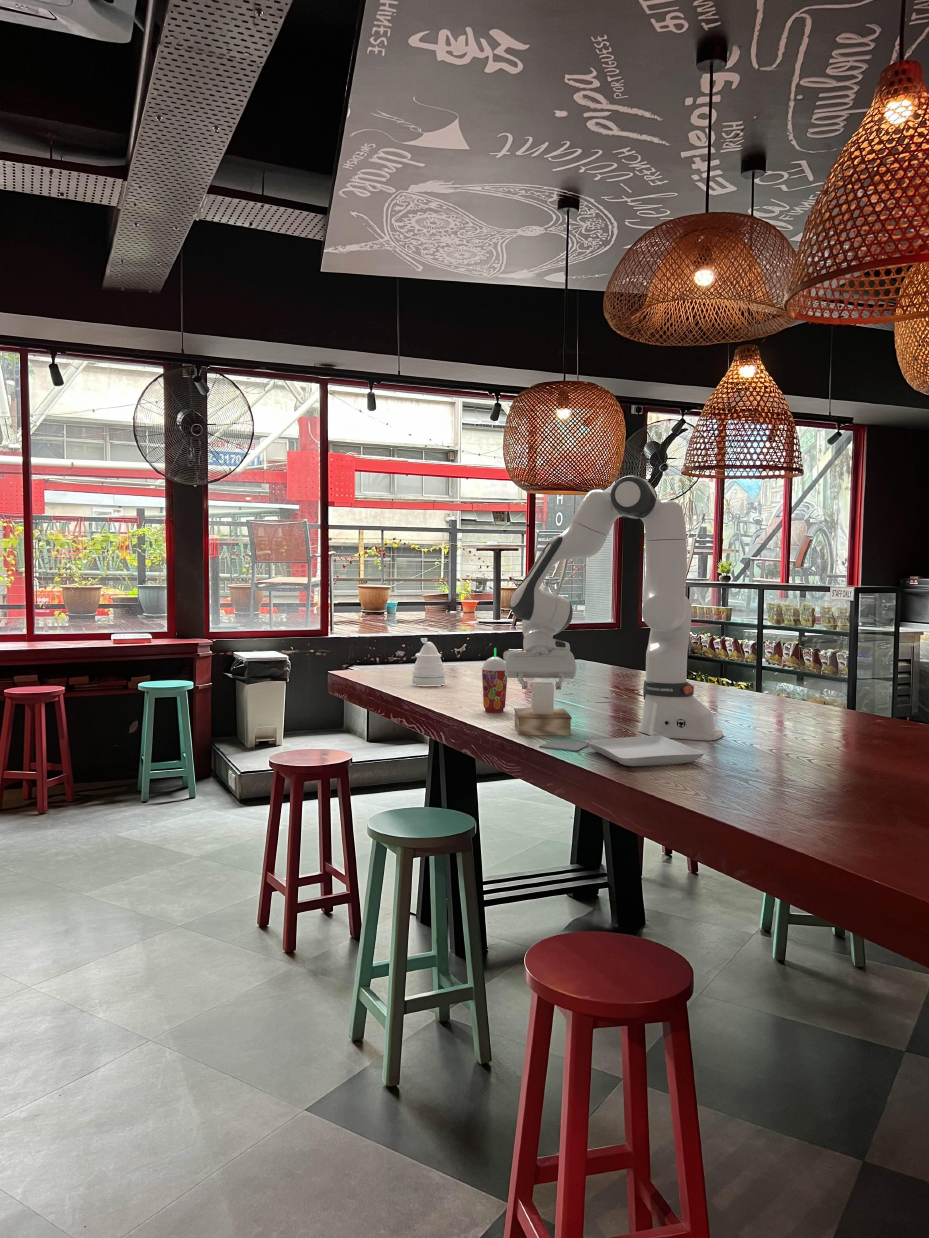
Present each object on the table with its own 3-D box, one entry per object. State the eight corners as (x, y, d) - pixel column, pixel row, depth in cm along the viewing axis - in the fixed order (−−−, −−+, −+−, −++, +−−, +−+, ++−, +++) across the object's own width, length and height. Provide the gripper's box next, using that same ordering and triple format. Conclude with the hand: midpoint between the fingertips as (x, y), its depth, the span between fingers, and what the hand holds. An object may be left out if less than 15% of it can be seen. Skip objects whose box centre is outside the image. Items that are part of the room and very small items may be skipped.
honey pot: (410, 686, 327) (410, 639, 326) (413, 682, 340) (414, 637, 339) (444, 687, 327) (444, 640, 326) (446, 682, 339) (446, 637, 338)
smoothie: (508, 709, 274) (509, 647, 273) (506, 713, 266) (507, 649, 265) (482, 709, 275) (482, 646, 274) (480, 713, 266) (480, 648, 265)
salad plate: (621, 771, 191) (622, 756, 191) (583, 752, 211) (583, 738, 211) (706, 767, 197) (706, 752, 196) (661, 748, 217) (661, 735, 217)
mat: (591, 744, 219) (591, 743, 219) (576, 751, 210) (576, 750, 210) (554, 740, 223) (554, 739, 223) (539, 747, 215) (539, 745, 215)
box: (564, 725, 246) (564, 698, 245) (571, 735, 231) (571, 705, 231) (513, 725, 245) (514, 697, 245) (517, 734, 231) (518, 705, 231)
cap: (550, 710, 241) (551, 682, 240) (553, 714, 235) (553, 685, 235) (531, 710, 241) (531, 682, 240) (532, 714, 235) (533, 684, 235)
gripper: (503, 642, 246) (505, 680, 237) (574, 643, 246) (579, 681, 237) (502, 656, 251) (503, 694, 241) (572, 657, 251) (576, 695, 242)
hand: (541, 688), depth 239 cm, fingers open, 8 cm apart
